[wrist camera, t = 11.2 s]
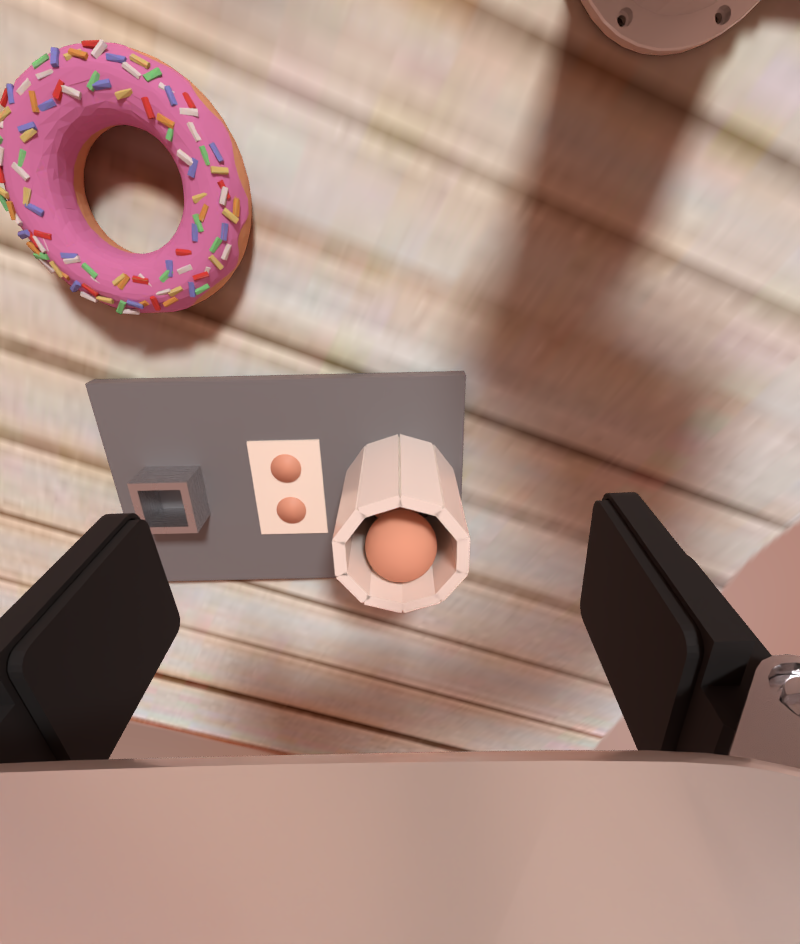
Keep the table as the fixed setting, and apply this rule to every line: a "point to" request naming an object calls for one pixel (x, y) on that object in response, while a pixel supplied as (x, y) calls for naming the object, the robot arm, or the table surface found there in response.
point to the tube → (412, 487)
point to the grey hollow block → (170, 478)
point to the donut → (62, 176)
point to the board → (267, 456)
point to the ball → (401, 545)
